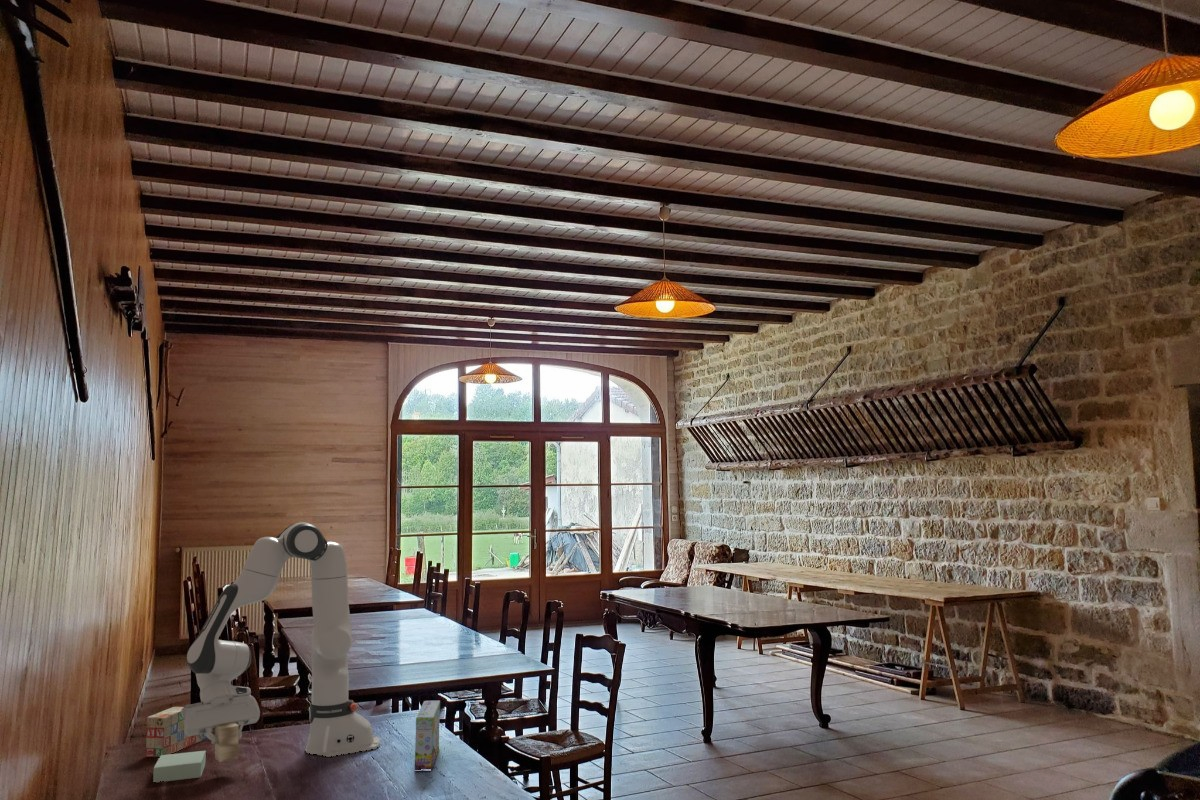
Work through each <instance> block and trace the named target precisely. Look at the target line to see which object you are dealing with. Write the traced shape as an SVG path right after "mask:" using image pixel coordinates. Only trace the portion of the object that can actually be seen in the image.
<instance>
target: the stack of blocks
mask: <svg viewBox="0 0 1200 800" xmlns="http://www.w3.org/2000/svg"><path fill="white" fill-rule="evenodd" d="M183 707H184V706H172V707H170V708H167V709H165V710H162V711H160V712H157V713H154V714H152V715H149V716H147V718H146V730H145V731H146V733H145V735H146V736H145V757H146V756H159V757H160V756H161V755H169V754H171V753H174V752H176V753H178V752H177V751H179V750H181V749H183V748H185V749H187V748H189V747H191V746H194V745H195V744H197V743H199V742H202V741H204V740H207V739H208V738H207V737H206V736H205V733H203V734H198V735H193V736H187V735H186V734H185V731H184V719H183V718H182V716H181V710H182V708H183ZM188 746H189V747H188ZM186 747H187V748H186ZM183 750H184V749H183ZM181 751H182V750H181ZM179 752H180V751H179ZM174 754H175V753H174Z"/></svg>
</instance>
